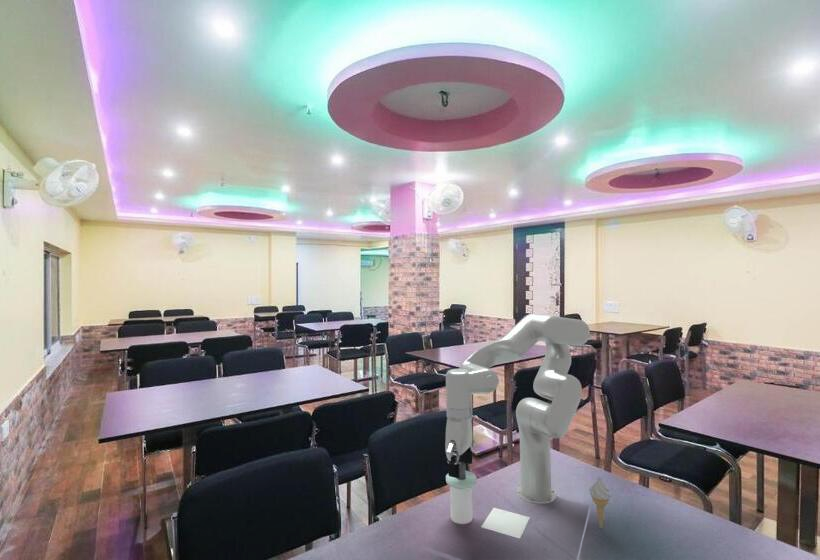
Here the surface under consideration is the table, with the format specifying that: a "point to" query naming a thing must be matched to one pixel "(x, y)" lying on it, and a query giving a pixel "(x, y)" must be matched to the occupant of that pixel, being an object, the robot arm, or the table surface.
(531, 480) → the robot arm
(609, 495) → the ice cream cone
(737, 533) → the table surface
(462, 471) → the lid
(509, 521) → the mat
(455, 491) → the can
